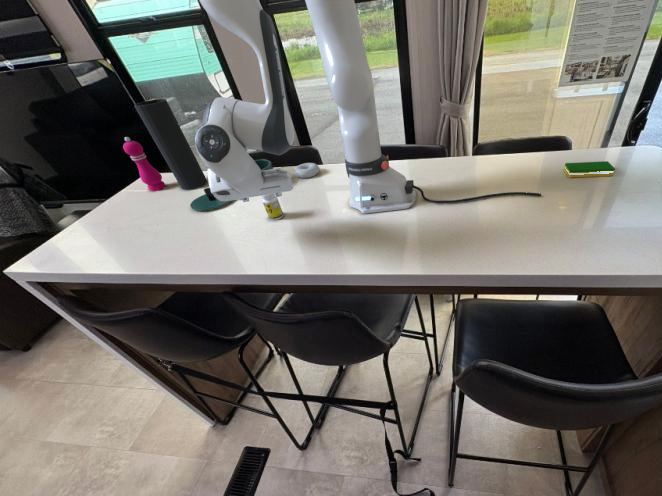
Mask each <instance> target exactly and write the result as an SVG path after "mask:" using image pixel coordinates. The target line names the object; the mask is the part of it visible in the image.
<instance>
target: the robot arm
mask: <svg viewBox="0 0 662 496" xmlns="http://www.w3.org/2000/svg"><path fill="white" fill-rule="evenodd" d="M198 1H199V3H200V5H201V6H202V8H203V9H204V10H205V11H206V13H207V14H208V15H209V17H211V18H212V19H213V20H214V21H215V22H216V23H217V24H219V26H221V27H223V29H226V30H227V31H229V33H232V34H233V35H235V36H236V37H238V38H240V39H241V40H243V41H244V42H246V43H247V44H248V45H249V46H250V47H251V48H252V50H253V51H254V52H255V55H256V58H257V59H258V60H257V61H258V66H259V69H260V75H261V81H262V86H263V92H264V98H265V102H264V103H257V102H251V101H244V100H242V99H237V98H231V97H223V96H216V97H214V98H213V99H211V101H210V102H209V103H208V104H207V106H206V107H205V109H204V111H203V114H202V121H201V127H200V128H198V130H197V132H196V133H195V137H194V145H195V149H196V151H197V154H198V155H199V157H200V159H201V161H202V162H203V163H204V164H205V166H206V167H207V173H206V174H207V183H208V186H209V187H208V188H210V190H211V193H212V194H213V195H214V197H215V198H217V199H218V200H219V201H230V202H232V201H236V200H237V201H242V202H243V203H248V202H250V198H255V197H262V195H268V194H274V193H275V196H276V197H277V198H278V197H279V198H280V197H282V196H283V194H282V193H285V192H291V191H292V190H293V189H294V184H293V180H292V177H291V175H290V174H289V173H288V171H286V170H285V169H283V168H273V169H270V170H263V171H262V170H261V169H260V168H259V166H258V165H257V164H256V163H255V161H254V158H252V156H250V154H249V153H248V152H249V151H248V150H253V151H260V152H263V153H266V154H267V153H268V154H271V155H275V156H281V155H284V154H285V153H287V152H288V151H289V150H290V149H291V148H293V146H294V143H295V128H294V123H293V119H292V114H291V110H290V105H289V100H288V99H289V98H288V95H287V88H286V87H287V86H286V81H285V76H284V68H283V63H282V57H281V50H280V46H279V40H278V35H277V31H276V28H275V25H274V22H273V19H272V17H271V15H270V14H268V13H267V12H266V11H265V10H264V8H263V7H262V4H261V2H260V0H198ZM304 1H305V5H306V8H307V11H308V14H309V18H310V20H311V24H312V27H313V28H312V29H313V31H314V34H315V38H316V41H317V42H316V43H317V46H318V50H319V54H320V58H321V62H322V66H323V70H324V74H325V78H326V82H327V85H328V89H329V92H330V95H331V97H332V100H333V101H334V103H335V104H336V106H337V112H338V119H339V120H338V122H339V129H340V136H341V140H342V145H343V146H342V147H343V151H344V155H345V156H344V157H345V159H344V163H345V164H344V165H345V171H346V174H347V178H348V181H349V205H350V206H351V207H352V208H353V209H356V210H358V211H360V212H361V213H362V214H373V213H381V212H390V211H398V210H399V211H400V210H408V209H410V208H411V207H413V205H414V204H415V203H416V199H417V193H416V190H417V191H419V192H420V195H421V198H422V199H423V200H424V201H426V202H430V203H434V204H457V203H463V202H469V201H471V202H472V201H476V200H477V201H478V200H482V199H486V198H487V199H488V198H494V197H501V196H517V195H518V196H535V197H541V196H542V193H540V194H539V192H528V191H527V193H526V191H508V192H507V191H506V192H500V193H491V194H485V195H478V196H474V197H473V196H472V197H466V198H461V199H449V200H448V199H447V200H446V199H445V200H444V199H442V200H433V199H429V198H427V197H425V194H424V193H425V192H424V191H423V189H422V188H420V187H418V186H416V185H415V183H414V179H407V177H406V176H405V175H404V174H402V173H401V172H399V171H397V170H396V169H394V168H393V167H391V166H390V161H389V154H387V155H384V154H383V153H382V149H381V139H380V131H379V123H378V115H377V105H376V98H375V91H374V81H373V75H372V74H373V73H372V70H371V68H370V65H369V61H368V57H367V52H366V47H365V44H364V39H363V34H362V29H361V25H360V20H359V16H358V11H357V7H356V3H355V0H304ZM231 200H232V201H231Z"/></svg>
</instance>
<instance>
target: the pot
mask: <svg viewBox="0 0 662 496" xmlns="http://www.w3.org/2000/svg"><path fill="white" fill-rule="evenodd" d="M253 160H254V159H253ZM254 161H255V163H256V164H257V165H258V166H259V168H260V169H261V170H262V171H263V170H270V169H274V167H273V164H272V162H271V161H270V160H269V159H267V158H260V159H255V160H254Z"/></svg>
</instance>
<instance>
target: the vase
mask: <svg viewBox="0 0 662 496" xmlns="http://www.w3.org/2000/svg"><path fill="white" fill-rule="evenodd" d="M133 106H134V108H135V110H136V112H137V114H138V115H139V117H140V119H141V121H142V122H143V124H144V125H145V126H144V127H146V129H147V131H148V133H149V134H150V137H151V138H152V140H153V142H154V143H155V145H156V146H157V148H158V150H159V152H160V154H161V156H162V157H163V159H164V160H165V162H166V164H167V166H168V168H169V169H170V171H171V173H172V174H173V176H174V178H175V179H176V181H177V183H178V185H179V187H180V188H181V190H183V191H184V190H185V191H190V190H196V189H199V188H202V187H203V186H205V185H206V184H207V183H208V178H207V177H206V175H205V173H204V172H203V169H202V167H201V166H200V163H199V162H198V159H197V157H196V155H195V154H194V152H193V150H192V148H191V146H190V144H189V141H188V140H187V137H186V135H185V133H184V132H183V130H182V128H181V126H180V124H179V121H178V120H177V118H176V116H175V114H174V112H173V110H172V108H171V106H170V104H169V102H168V100H167V99H166V98H156V99H149V100H144V101H141V102H137V103H135V104H134V105H133Z"/></svg>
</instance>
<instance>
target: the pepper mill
mask: <svg viewBox="0 0 662 496" xmlns="http://www.w3.org/2000/svg"><path fill="white" fill-rule="evenodd" d="M124 141H125V142H124V143H123V145H122V148H123V150H124V152H125V153H126V155H129V158H130V159H131V161H133V162H134V164H136V166H137V169H138V173H139V177H140V180H141V182H142V183H143V184H145V185H147V189H148V190H149V191H150V192H157V191H160V190H163V189H165V188H166V187H167V185H166V183H165V181H163V180H162V179H163V176H162V174H161V173H160V172H159V171H158V170H157V169H156V168H155V167H153V165H152V164H151V163H150V162H149V161H148V159H147V155H146V154H145V152H144V147H143V146H142V144H141V143H140V142H138V141H135V140H131V138H130V137H129V136H125V137H124Z"/></svg>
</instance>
